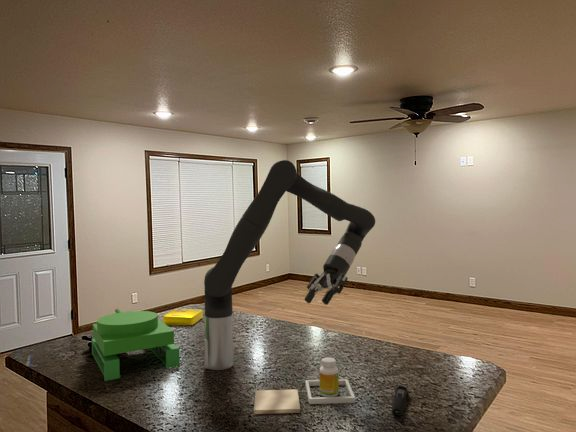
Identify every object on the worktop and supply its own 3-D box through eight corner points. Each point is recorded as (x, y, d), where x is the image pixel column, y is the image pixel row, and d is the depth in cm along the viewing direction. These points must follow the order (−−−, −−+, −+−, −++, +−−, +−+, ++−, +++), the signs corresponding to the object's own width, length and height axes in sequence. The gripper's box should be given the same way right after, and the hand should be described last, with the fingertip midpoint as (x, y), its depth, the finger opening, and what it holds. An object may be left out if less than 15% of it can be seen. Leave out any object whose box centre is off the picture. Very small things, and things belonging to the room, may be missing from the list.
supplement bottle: (337, 398, 121) (337, 363, 121) (318, 396, 122) (318, 362, 122) (339, 390, 126) (339, 357, 126) (320, 388, 127) (320, 356, 127)
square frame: (309, 404, 118) (309, 398, 117) (305, 384, 130) (305, 380, 130) (355, 402, 118) (355, 397, 118) (347, 383, 131) (347, 379, 131)
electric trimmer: (388, 419, 110) (388, 406, 110) (395, 393, 124) (395, 382, 124) (403, 421, 109) (403, 409, 108) (409, 395, 123) (409, 384, 123)
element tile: (161, 325, 199) (161, 315, 199) (175, 317, 213) (174, 307, 213) (192, 326, 196) (192, 316, 196) (204, 318, 211) (204, 308, 211)
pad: (253, 413, 112) (253, 410, 112) (255, 393, 124) (255, 390, 124) (300, 412, 113) (300, 408, 113) (297, 392, 125) (297, 389, 125)
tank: (154, 341, 177) (153, 301, 177) (181, 366, 147) (180, 318, 147) (89, 352, 165) (88, 309, 164) (104, 382, 135) (102, 330, 134)
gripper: (318, 254, 144) (293, 294, 137) (347, 252, 133) (322, 295, 125) (332, 269, 147) (308, 308, 139) (362, 268, 135) (338, 311, 128)
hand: (315, 302), depth 132 cm, fingers open, 8 cm apart
